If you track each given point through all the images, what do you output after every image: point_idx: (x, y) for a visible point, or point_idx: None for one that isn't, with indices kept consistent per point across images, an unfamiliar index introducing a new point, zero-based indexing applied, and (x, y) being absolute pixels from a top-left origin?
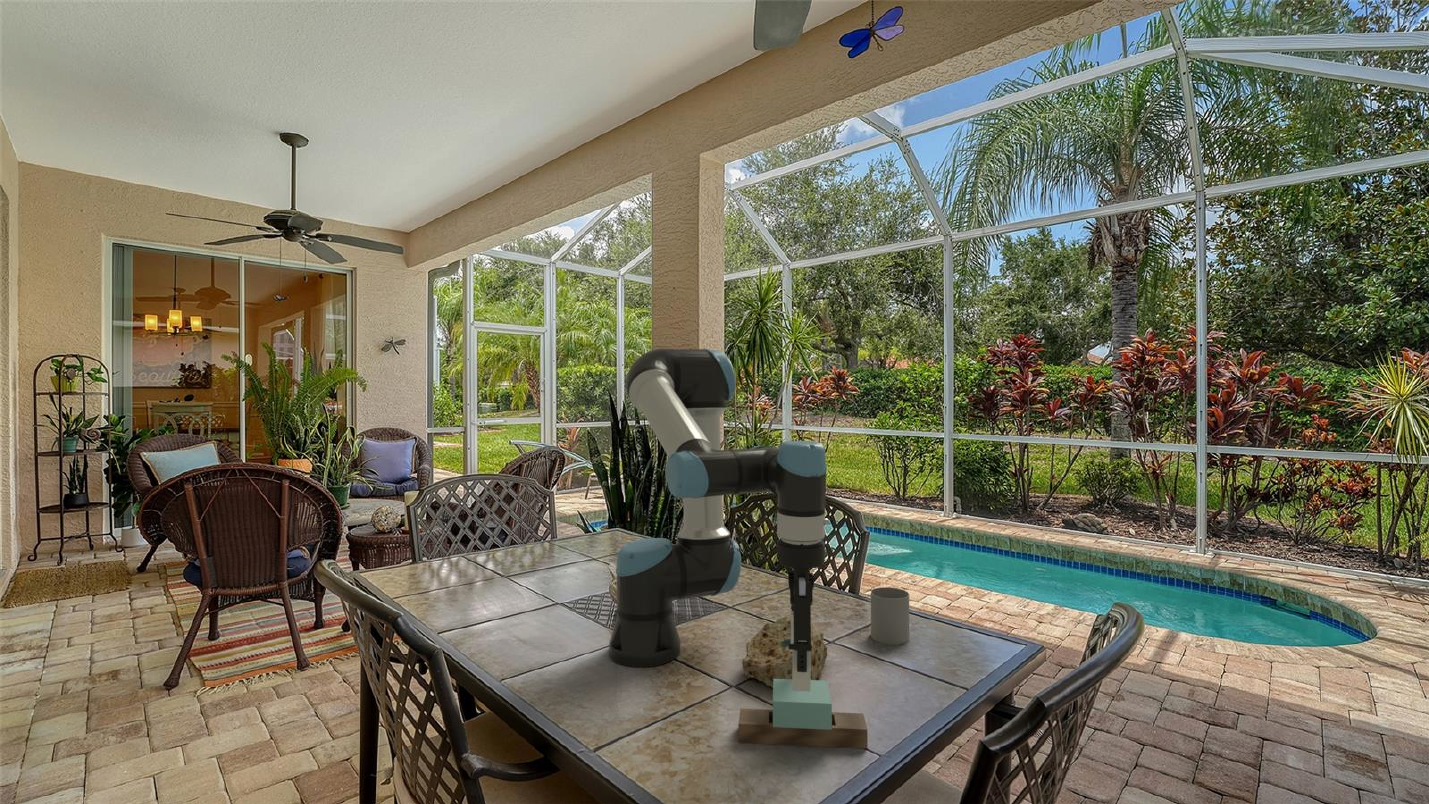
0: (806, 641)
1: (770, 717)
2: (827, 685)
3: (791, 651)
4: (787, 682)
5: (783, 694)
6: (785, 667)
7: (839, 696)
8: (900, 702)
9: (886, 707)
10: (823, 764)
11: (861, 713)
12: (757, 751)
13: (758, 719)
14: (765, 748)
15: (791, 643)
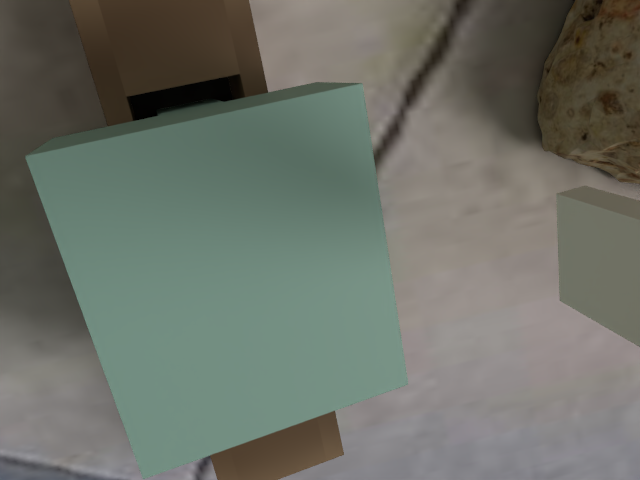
0: (622, 335)
1: (237, 81)
2: (354, 397)
3: (560, 199)
4: (331, 184)
5: (157, 200)
6: (632, 79)
7: (543, 284)
8: (531, 464)
9: (494, 437)
10: (43, 345)
11: (341, 449)
12: (23, 60)
13: (137, 34)
14: (65, 91)
15: (606, 215)
